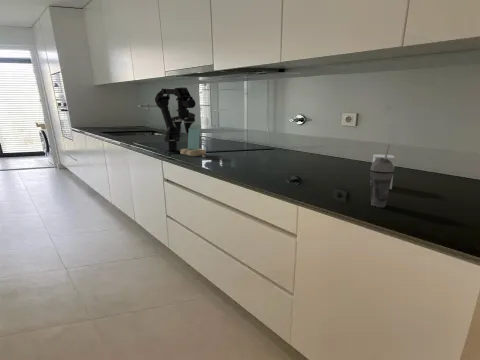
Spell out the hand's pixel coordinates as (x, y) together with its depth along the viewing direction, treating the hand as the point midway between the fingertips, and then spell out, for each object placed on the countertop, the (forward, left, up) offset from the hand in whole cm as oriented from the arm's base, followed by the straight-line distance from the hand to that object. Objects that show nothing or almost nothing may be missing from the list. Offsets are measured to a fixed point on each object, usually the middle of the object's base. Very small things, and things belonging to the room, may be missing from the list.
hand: (183, 132), depth 212 cm
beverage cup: (+136, -16, -13) cm, 137 cm away
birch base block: (+7, +2, -13) cm, 15 cm away
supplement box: (+126, +8, -13) cm, 127 cm away
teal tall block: (+7, +2, -10) cm, 12 cm away
